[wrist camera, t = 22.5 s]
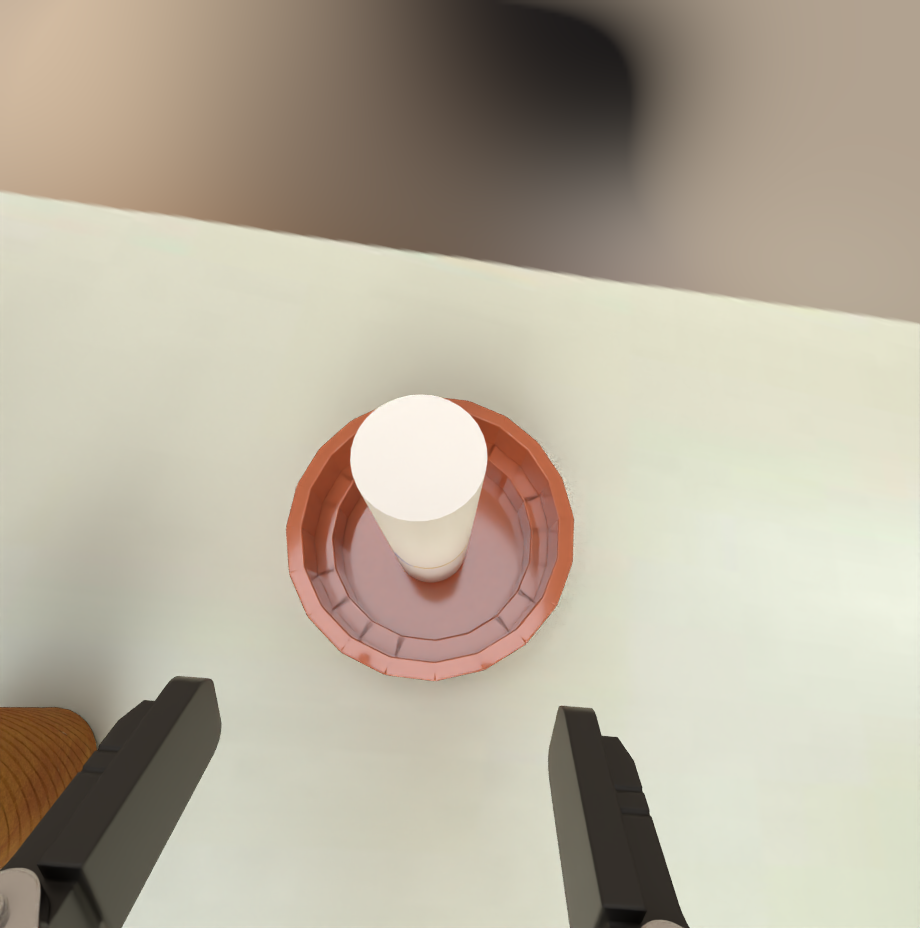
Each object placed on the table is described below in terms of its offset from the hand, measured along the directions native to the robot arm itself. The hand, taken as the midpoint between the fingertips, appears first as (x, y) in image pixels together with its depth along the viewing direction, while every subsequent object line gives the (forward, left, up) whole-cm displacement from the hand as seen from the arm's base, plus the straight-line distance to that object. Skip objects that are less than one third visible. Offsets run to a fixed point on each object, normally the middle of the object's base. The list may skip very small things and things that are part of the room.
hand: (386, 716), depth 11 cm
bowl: (+6, +5, -17) cm, 19 cm away
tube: (+6, +4, -16) cm, 18 cm away
